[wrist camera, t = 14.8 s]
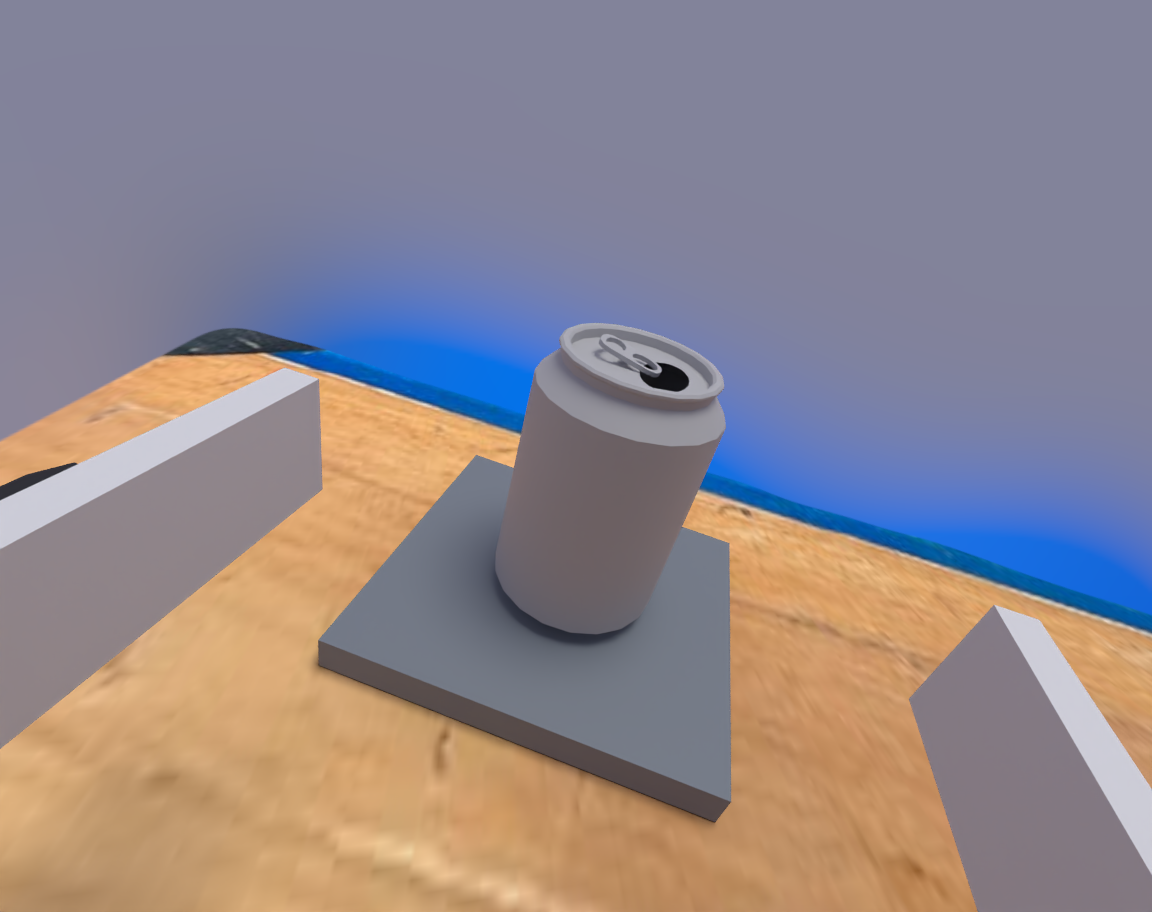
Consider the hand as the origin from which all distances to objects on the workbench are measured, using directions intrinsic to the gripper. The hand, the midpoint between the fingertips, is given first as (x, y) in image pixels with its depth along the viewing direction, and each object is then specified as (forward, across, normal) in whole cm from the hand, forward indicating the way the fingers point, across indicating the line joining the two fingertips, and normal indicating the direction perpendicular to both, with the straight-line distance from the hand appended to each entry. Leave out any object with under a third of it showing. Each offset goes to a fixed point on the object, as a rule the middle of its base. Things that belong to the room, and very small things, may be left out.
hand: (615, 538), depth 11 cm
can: (+11, -1, -12) cm, 16 cm away
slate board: (+11, -1, -13) cm, 17 cm away
